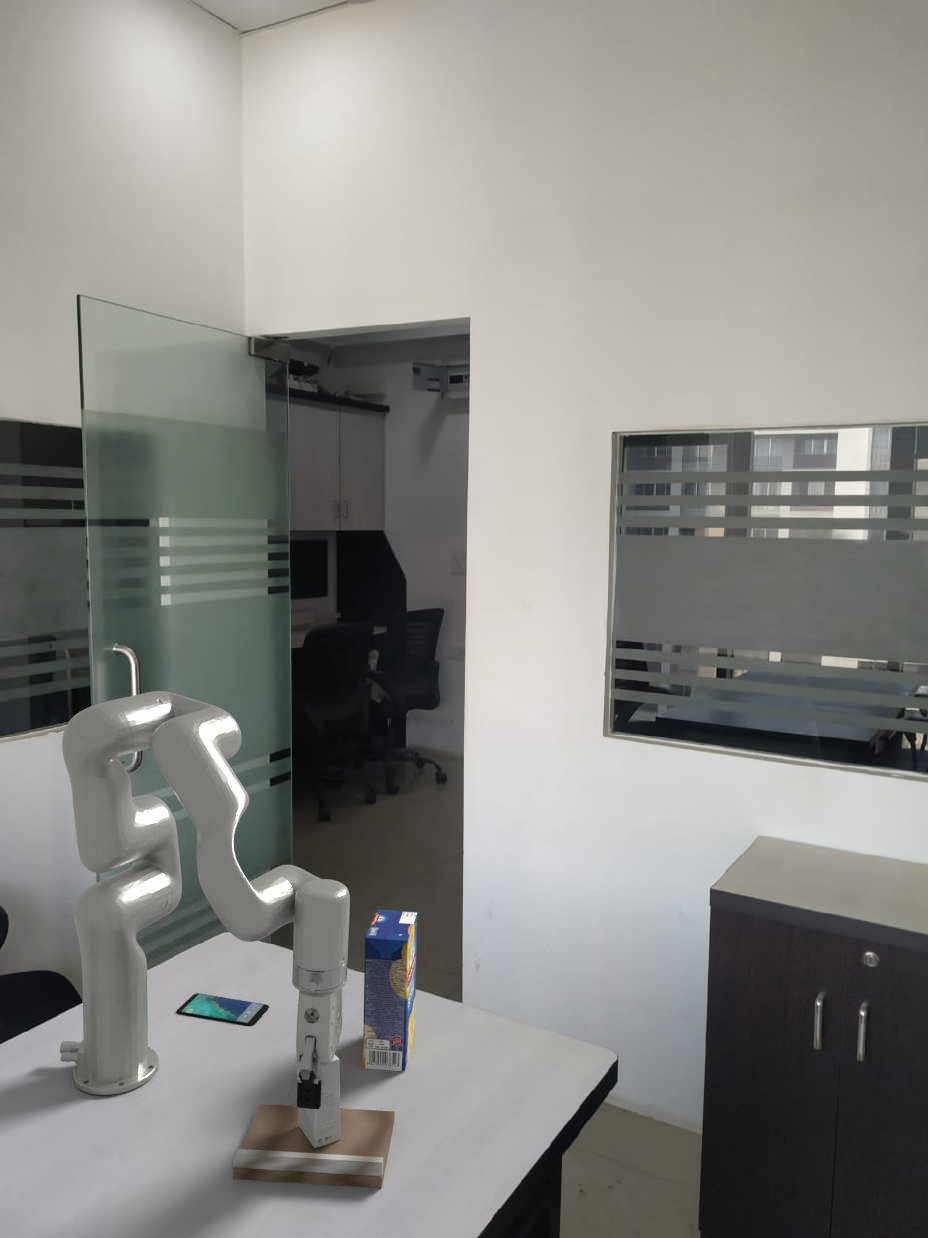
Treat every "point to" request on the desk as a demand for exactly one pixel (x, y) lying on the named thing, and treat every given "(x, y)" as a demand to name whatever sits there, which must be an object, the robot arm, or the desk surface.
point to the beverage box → (389, 990)
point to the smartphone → (223, 1009)
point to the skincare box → (323, 1107)
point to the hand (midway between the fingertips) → (315, 1085)
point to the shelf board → (315, 1149)
